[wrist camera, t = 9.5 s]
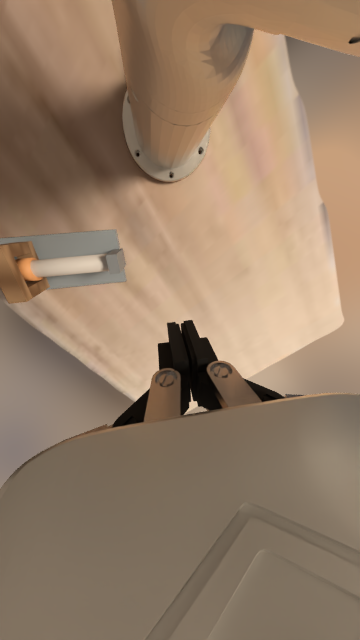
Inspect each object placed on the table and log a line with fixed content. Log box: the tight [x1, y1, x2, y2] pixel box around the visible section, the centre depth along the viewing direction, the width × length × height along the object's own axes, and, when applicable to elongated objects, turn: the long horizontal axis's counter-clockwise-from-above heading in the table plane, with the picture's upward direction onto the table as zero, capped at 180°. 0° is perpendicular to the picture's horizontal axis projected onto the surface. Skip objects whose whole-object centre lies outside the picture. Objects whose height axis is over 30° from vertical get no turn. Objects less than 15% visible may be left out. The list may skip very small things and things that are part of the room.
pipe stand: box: [0, 229, 126, 289], centre depth 30 cm, size 9×21×8 cm, turn 94°
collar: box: [0, 241, 50, 304], centre depth 28 cm, size 8×2×7 cm, turn 4°
